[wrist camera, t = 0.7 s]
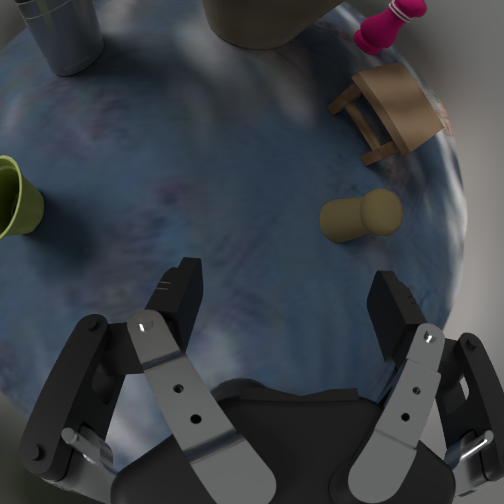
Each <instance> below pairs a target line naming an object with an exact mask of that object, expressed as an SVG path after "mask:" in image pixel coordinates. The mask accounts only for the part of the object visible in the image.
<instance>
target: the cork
mask: <svg viewBox="0 0 504 504" xmlns="http://www.w3.org/2000/svg"><path fill="white" fill-rule="evenodd" d="M402 218H403V210H402V205H401V203H400V201H399V199H398V197H397V196H396V195H395V194H394V193H392V192H391V191H389V190H387V189H382V188H379V189H374V190H371V191H370V192H368V193H367V194H366V195H365V196H364V197H355V198H343V199H334V200H330V201H328V202H327V203H325V205H324V206H323V207H322V209H321V212H320V215H319V223H320V227H321V230H322V232H323V233H324V235H325V236H326V237H327V238H328V239H329V240H331V241H333V242H336V243H342V242H345V241H349V240H352V239H355V238H358V237H361V236H364V235H367V234H370V233H372V234H374V235H377V236H387V235H390V234H393V233H394V232H395V231H396V230H397V229H398V228H399V226H400V225H401V223H402Z"/></svg>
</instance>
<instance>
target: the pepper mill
mask: <svg viewBox="0 0 504 504" xmlns="http://www.w3.org/2000/svg"><path fill="white" fill-rule="evenodd" d="M426 10H427V7H426V4H425V2H424V1H423V0H395V1H392V2H391V3H389V8H388V9H387V10H386V11H384V12H383V13H381V14H379V15H376V16H373V17H369V18H367V19H366V20H364V21H363V22H362V23H361V26H360V28H361V29H360V30H358V31H357V32H356V33H355V34H354V36H353V38H354V41H355V42H356V44H357V45H358V46H359V47H360V48H361V49H362V50H363V51H365V52H366V53H369V54H371V55H377V54H378V53H379V52H380V51H381V50H382V48H388V47H390V46H391V45H392V44H393V43H394V41H395V39H396V36H397V33H398V31H399V29H400V28H401V26H402V25H403V24H404V23H406V22H411V20H413V19H414V17H422V16H423V15H424V14H425V13H426Z"/></svg>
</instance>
